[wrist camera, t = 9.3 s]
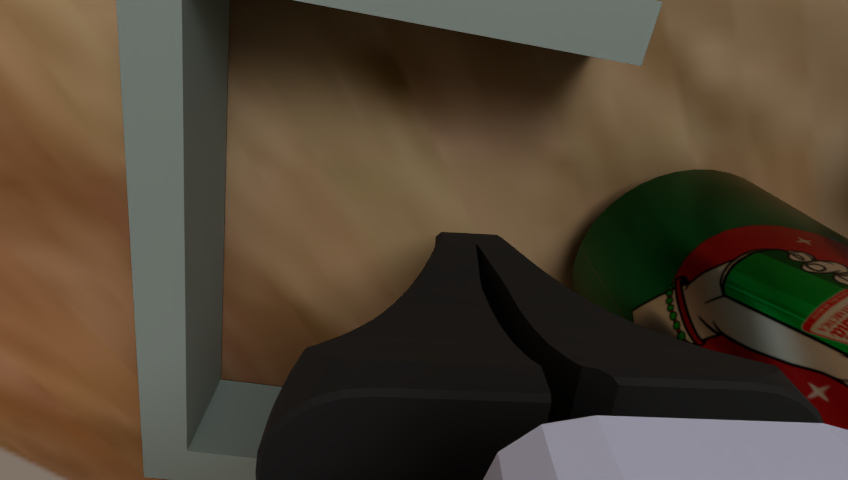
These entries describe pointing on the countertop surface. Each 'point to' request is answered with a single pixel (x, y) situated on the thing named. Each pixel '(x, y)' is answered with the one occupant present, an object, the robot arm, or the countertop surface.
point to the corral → (205, 197)
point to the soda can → (727, 277)
